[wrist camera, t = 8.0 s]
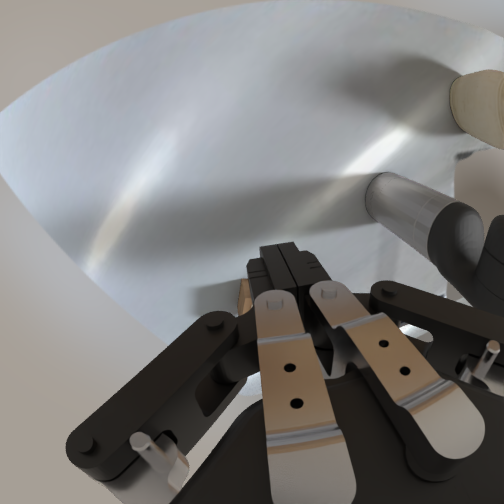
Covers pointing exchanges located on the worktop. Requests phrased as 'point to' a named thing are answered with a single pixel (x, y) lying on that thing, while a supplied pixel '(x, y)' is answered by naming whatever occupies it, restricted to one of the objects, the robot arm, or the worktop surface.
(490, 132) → the jug
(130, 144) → the worktop surface
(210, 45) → the worktop surface
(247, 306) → the labelled block
